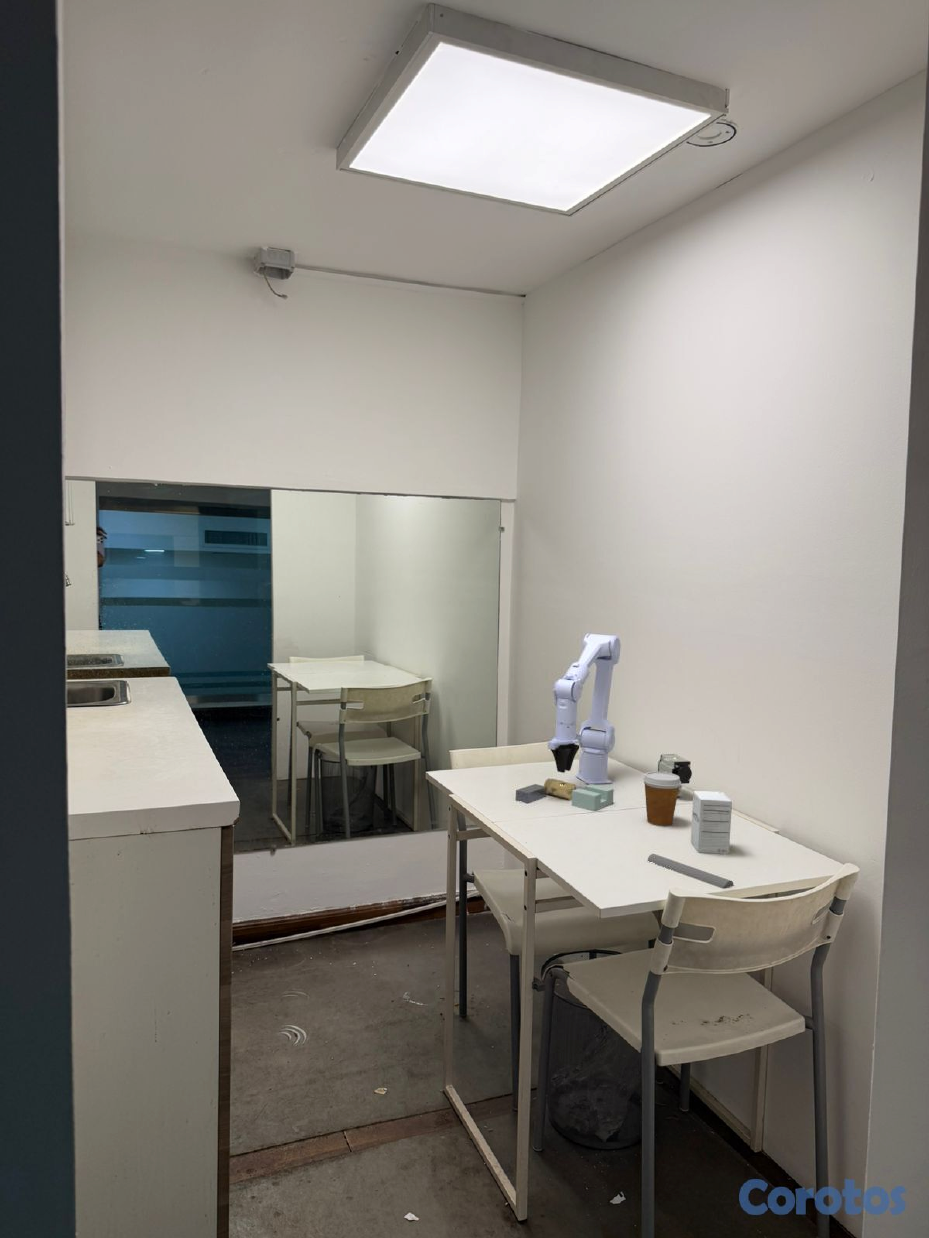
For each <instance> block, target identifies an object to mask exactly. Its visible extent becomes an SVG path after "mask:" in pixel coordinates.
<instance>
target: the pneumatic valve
mask: <svg viewBox="0 0 929 1238" xmlns="http://www.w3.org/2000/svg"><path fill="white" fill-rule="evenodd" d="M657 772H667V773H672V774H675V775H677V776H679V778H680V781H681V784H680V787H679V790H678V795H677V798H681V797H682V793H683V791H682V788H683V785H684V784H685V785H687V784H690V783H691V782H690V780H691V778H692V775H693V770H692V769H691V761H690V760H689V759H686V758H683V757H681V756H680V755H678V754H677V753H673V754H660V758H659V760H658V762H657ZM682 784H683V785H682ZM678 796H679V797H678Z"/></svg>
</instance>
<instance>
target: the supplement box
mask: <svg viewBox="0 0 929 1238" xmlns="http://www.w3.org/2000/svg"><path fill="white" fill-rule="evenodd" d="M692 795H693V796H692V797H693V798H692V813H691V829H690V843H691V844H692V845H693V846H694V848H695V849H696V851H697V852H698V853H702V854H719V855H721V854H723V855H728V854H730V839H731V828H732V827H731V824H732V809H733V807H732V806H733V801H732V799H730V797H728V795H727V794H726V793H724V792H723V791H710V790H707V791H705V790H704V791H703V790H702V791H701V790H693V794H692Z"/></svg>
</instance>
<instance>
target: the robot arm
mask: <svg viewBox="0 0 929 1238" xmlns="http://www.w3.org/2000/svg"><path fill="white" fill-rule="evenodd" d="M582 649H583V650H582V652H581V655H580V656H579V659H578V661H576V662H573V663H572V664H571V665H570V666H569V668H568V669H567V671H566V672H565V674H564V675H563V677H562V678H560V679H558V680H556V681H555V682H554V685H553V690H552V695H553V698H554V699H553V700H554V706H555V710H556V711H555V728H554V729H555V730H554V737H553V738H552V739H551V740H549V741H547V750H550V751H551V753H552V755H553V758H554V760H555V766H556V770H557V772H559V773H563V774H564V773H565V772H566V771H568V772H570V771H571V770H572V766H573V763H574V759H575V757H576V754H577V753H578V751H579V750H580V748H581V752H580V753H579V756H578V774H575V777H576V778H578V779H580V780H581V781H582V782H584V783H586V785H590V784H594V785H600V784H601V785H603V784H613V781H612V780H610V779H608V765H609V764H608V761H609V760H608V759H609V753H610V752H612V750H613V749H614V747H615V743H616V736H615V730H616V729H615V727H614V725H613V724H612V723H610V721H609V720H608V718H607V717H608V712H609V711H608V710H609V703H610V695H611V689H612V688H611V687H612V679H613V670H614V666H615V665H618V664H619V661H620V654H621V640H620V638H619V636H618V635H616V634H615V635H608V634H597V633H596V634H594V633H590V632H588V633H587V634H585V636H584V638H583V641H582ZM593 664H595V666H596V669H595V676H594V685H593V693H592V698H591V699H592V701H591V708H590V709H591V710H590V714H589V715H590V716H589V718H587V719H586V720H584V721H583V722H582V723H581V726H580V730H579V732H578V733H577V718H578V702H579V701H580V699H581V696H582V692H583V690H584V687H583V686H584V684H585V683H586V681H587V679H588V678H589V676H590V668H591V666H593ZM595 728H597V729H595Z"/></svg>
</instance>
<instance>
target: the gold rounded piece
mask: <svg viewBox="0 0 929 1238" xmlns="http://www.w3.org/2000/svg"><path fill="white" fill-rule="evenodd" d="M554 779H555V778H547V779H546V780H545V782H544V784H543V786H546V787H547V795H550V796H553V797H557V798H561V799H566V800H569V801H572V791H573V790H576V789H577V785H576V784H574V783H570V782H565V781H564V780H560V781H558V780H559V779H556V780H554Z"/></svg>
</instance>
